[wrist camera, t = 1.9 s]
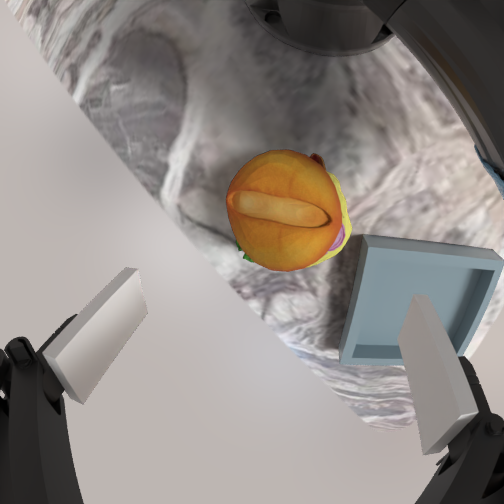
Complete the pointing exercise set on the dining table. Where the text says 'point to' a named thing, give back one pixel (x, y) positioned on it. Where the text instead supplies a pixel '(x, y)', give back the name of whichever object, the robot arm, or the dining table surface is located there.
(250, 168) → the cheeseburger
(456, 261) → the bin
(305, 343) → the dining table surface
